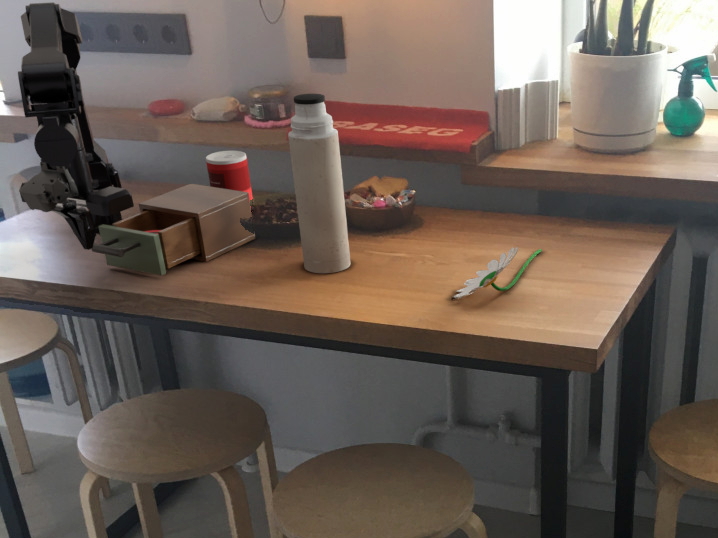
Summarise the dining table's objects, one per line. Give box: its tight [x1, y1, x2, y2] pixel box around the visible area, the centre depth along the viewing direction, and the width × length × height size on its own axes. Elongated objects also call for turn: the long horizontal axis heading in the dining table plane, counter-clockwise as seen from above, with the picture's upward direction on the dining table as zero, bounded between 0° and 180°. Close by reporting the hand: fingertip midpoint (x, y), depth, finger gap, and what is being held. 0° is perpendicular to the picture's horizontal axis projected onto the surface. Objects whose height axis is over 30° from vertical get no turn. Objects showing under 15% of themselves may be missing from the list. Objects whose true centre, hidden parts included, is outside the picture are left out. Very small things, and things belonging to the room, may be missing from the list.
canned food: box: [205, 150, 254, 200], centre depth 199 cm, size 8×8×11 cm
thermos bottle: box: [288, 93, 351, 274], centre depth 168 cm, size 8×8×28 cm
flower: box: [452, 246, 542, 301], centre depth 167 cm, size 13×6×30 cm
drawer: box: [91, 210, 202, 277], centre depth 173 cm, size 18×12×7 cm
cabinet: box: [138, 183, 256, 263], centre depth 183 cm, size 14×14×9 cm
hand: (88, 248), depth 163 cm, fingers closed
